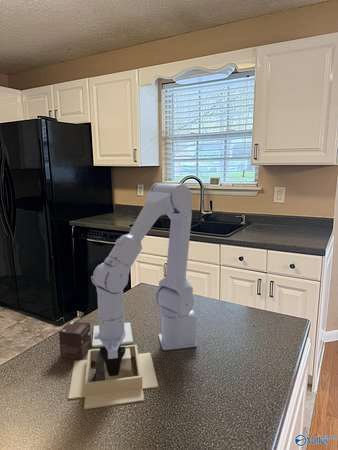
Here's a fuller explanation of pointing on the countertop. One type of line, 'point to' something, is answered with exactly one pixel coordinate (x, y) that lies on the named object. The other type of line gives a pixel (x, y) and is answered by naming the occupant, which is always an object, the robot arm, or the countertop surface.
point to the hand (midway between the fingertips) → (113, 368)
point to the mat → (126, 339)
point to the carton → (112, 382)
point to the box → (75, 340)
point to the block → (102, 369)
